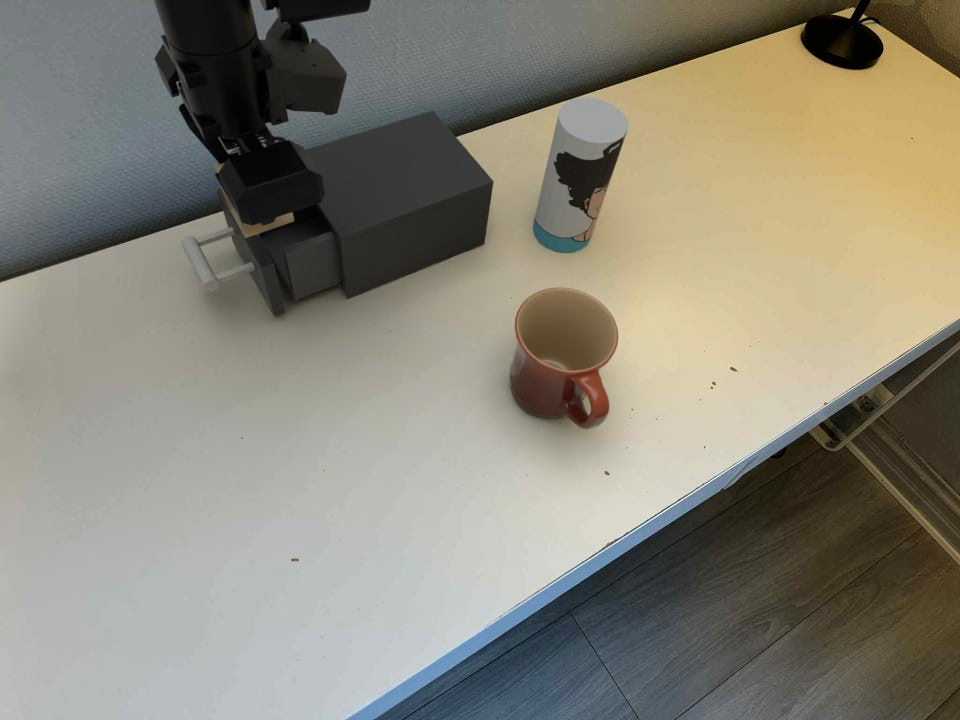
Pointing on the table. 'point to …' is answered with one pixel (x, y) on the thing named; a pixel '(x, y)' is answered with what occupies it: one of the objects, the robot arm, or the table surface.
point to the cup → (578, 172)
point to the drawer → (275, 256)
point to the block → (258, 228)
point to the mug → (563, 355)
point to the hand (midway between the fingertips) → (257, 204)
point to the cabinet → (401, 199)
